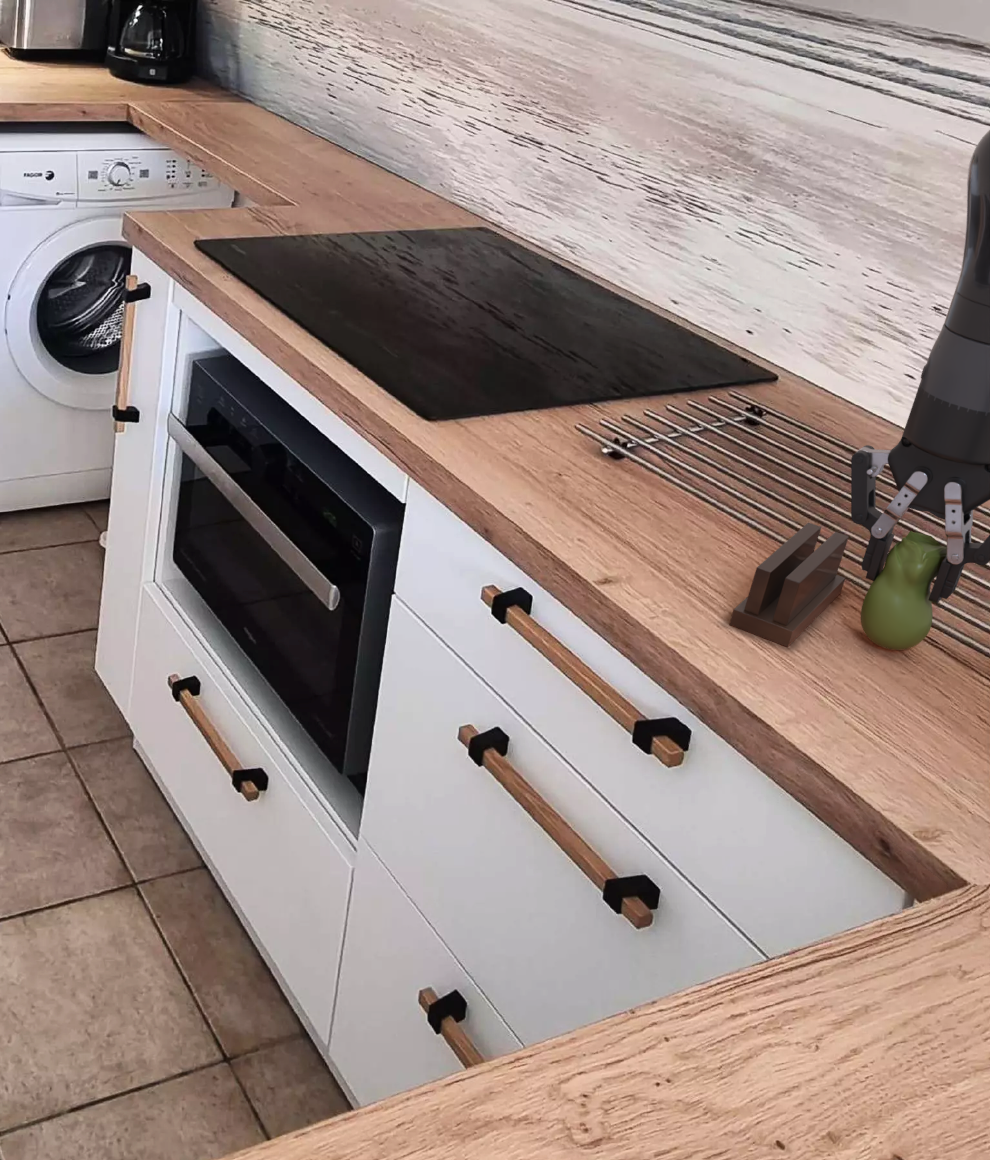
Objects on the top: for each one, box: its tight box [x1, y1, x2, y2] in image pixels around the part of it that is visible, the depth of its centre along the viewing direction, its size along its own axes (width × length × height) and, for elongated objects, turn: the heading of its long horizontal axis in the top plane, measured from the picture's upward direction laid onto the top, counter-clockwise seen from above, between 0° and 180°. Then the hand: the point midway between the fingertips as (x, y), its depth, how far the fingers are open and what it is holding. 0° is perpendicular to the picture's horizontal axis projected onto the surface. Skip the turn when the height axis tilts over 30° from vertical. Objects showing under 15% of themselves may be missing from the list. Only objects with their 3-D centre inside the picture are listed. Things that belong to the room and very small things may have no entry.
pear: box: [860, 530, 947, 651], centre depth 124 cm, size 6×5×10 cm
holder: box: [728, 522, 849, 648], centre depth 129 cm, size 5×14×6 cm, turn 143°
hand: (903, 587), depth 124 cm, fingers closed on pear, 4 cm apart
